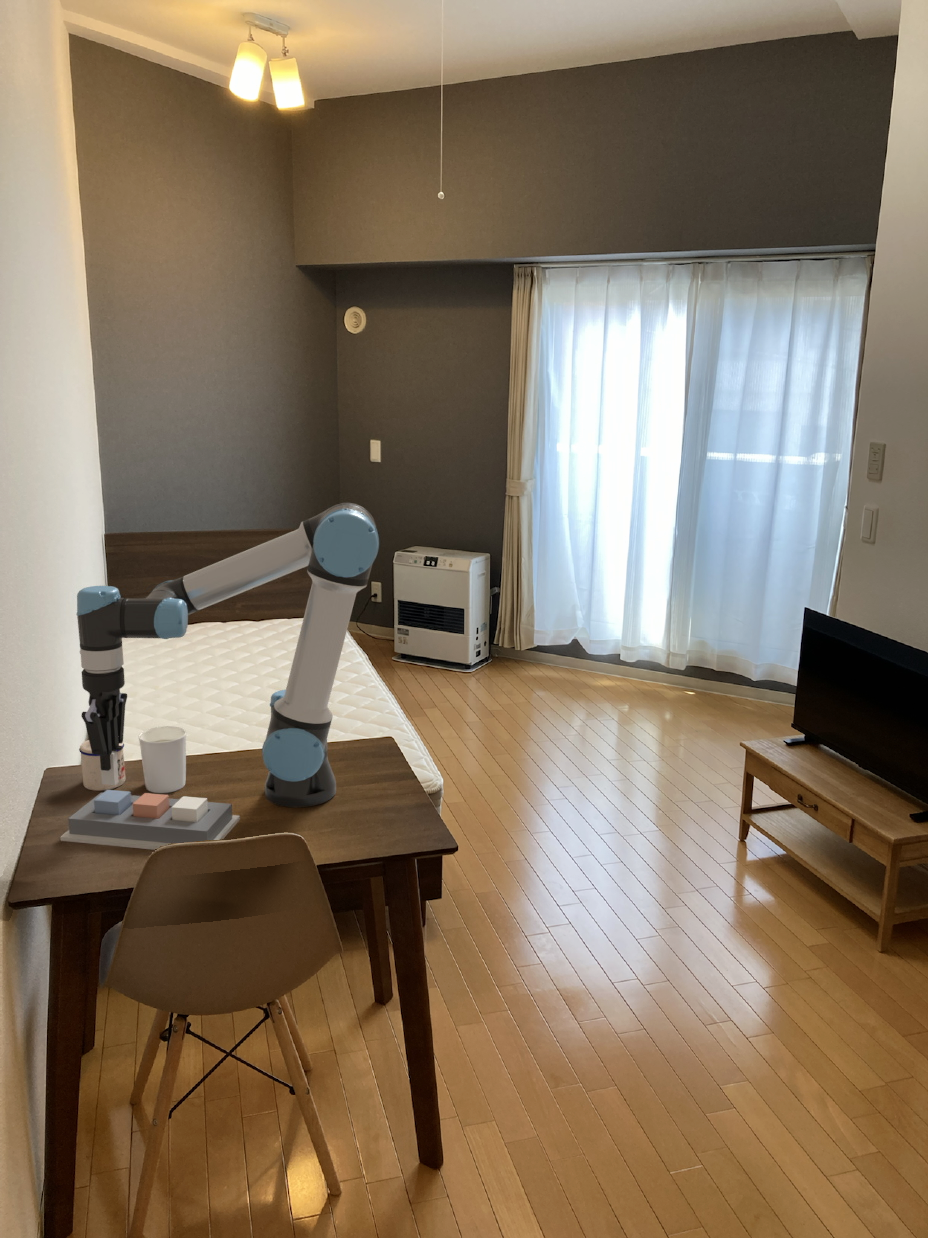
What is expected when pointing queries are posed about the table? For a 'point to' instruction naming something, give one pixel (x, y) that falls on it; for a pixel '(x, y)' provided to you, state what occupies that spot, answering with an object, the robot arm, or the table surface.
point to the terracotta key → (151, 805)
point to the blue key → (112, 802)
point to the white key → (190, 809)
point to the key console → (147, 827)
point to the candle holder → (164, 758)
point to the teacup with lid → (98, 768)
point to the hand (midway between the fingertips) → (110, 783)
